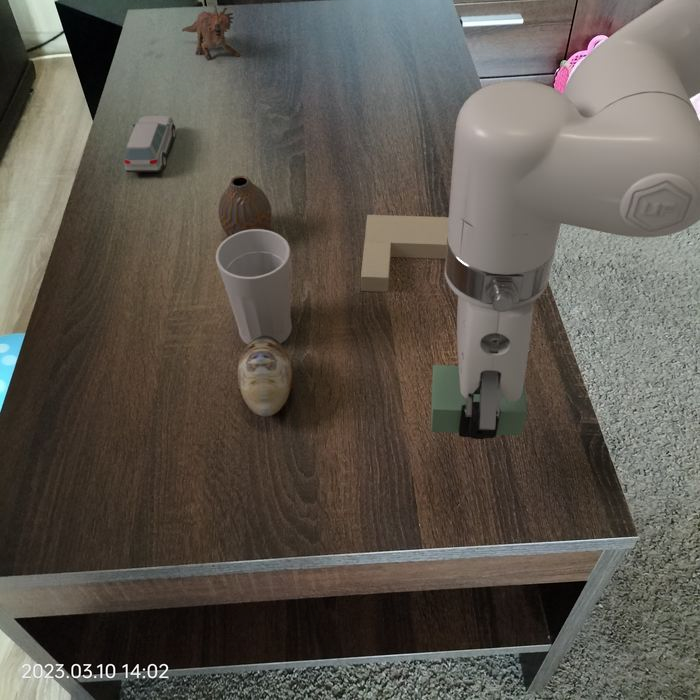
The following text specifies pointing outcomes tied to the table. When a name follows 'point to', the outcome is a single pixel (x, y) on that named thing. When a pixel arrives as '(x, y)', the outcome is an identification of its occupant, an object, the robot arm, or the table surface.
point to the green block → (451, 400)
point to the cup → (257, 282)
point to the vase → (244, 207)
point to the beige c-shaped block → (399, 245)
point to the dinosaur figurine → (212, 31)
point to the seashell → (264, 375)
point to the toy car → (149, 144)
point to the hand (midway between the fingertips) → (476, 407)
